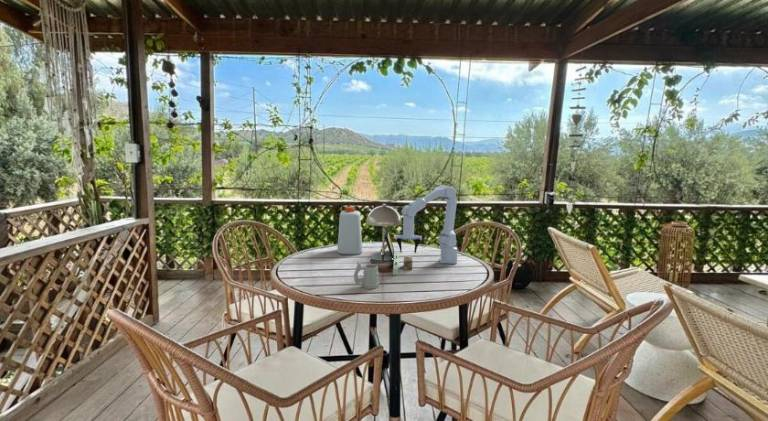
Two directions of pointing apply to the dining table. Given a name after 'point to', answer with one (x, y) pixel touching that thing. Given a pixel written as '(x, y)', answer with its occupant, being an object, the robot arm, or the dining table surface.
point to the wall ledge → (395, 264)
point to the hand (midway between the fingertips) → (408, 252)
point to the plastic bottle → (349, 232)
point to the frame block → (408, 263)
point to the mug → (367, 276)
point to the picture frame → (388, 243)
